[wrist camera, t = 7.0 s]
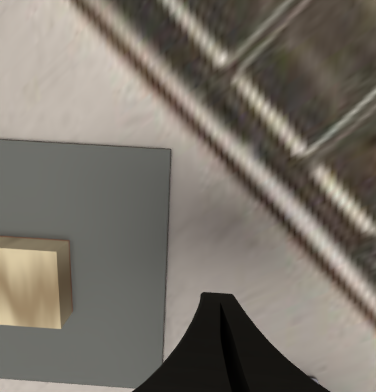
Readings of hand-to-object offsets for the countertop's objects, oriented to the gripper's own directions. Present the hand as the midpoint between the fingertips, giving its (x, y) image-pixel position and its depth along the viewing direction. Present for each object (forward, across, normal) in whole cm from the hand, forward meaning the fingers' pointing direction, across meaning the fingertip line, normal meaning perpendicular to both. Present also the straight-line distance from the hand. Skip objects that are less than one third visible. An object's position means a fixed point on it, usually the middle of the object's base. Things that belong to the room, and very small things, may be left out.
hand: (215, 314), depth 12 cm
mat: (+9, +11, +4) cm, 15 cm away
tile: (+8, +10, +4) cm, 13 cm away
